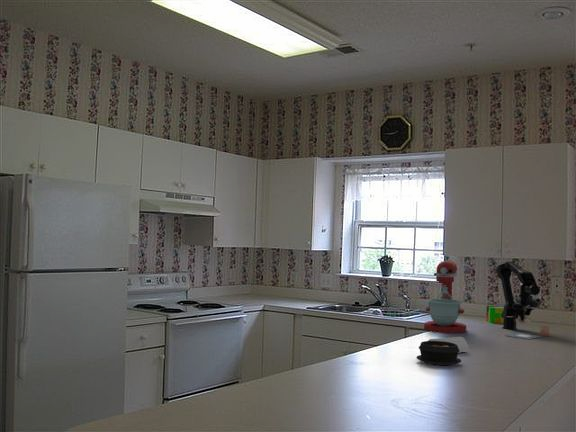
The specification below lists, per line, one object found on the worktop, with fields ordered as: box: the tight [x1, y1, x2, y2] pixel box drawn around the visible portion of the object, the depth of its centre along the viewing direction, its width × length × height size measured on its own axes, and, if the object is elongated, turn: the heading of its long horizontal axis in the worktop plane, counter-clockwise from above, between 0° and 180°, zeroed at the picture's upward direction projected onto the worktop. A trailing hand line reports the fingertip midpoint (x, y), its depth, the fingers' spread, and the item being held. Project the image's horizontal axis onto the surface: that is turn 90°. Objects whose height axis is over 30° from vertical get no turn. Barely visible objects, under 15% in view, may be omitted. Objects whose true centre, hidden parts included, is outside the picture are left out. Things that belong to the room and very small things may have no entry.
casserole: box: [415, 340, 462, 367], centre depth 260 cm, size 25×19×8 cm
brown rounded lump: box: [539, 325, 550, 337], centre depth 350 cm, size 5×5×5 cm
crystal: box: [427, 336, 469, 354], centre depth 285 cm, size 7×7×24 cm
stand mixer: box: [423, 260, 467, 334], centre depth 360 cm, size 24×32×40 cm
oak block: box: [518, 315, 532, 324], centre depth 356 cm, size 5×5×4 cm
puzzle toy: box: [485, 305, 504, 325], centre depth 401 cm, size 10×10×10 cm
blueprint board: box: [504, 332, 544, 340], centre depth 343 cm, size 14×16×1 cm
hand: (524, 320), depth 356 cm, fingers closed on oak block, 5 cm apart
